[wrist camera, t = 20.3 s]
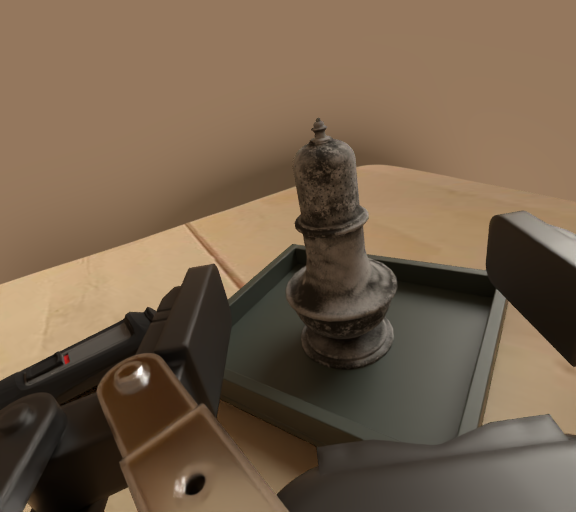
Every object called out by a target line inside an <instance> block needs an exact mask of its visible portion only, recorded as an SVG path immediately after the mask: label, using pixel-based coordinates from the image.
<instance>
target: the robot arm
mask: <svg viewBox="0 0 576 512" xmlns="http://www.w3.org/2000/svg"><path fill="white" fill-rule="evenodd" d="M486 271H487V275H488V278H489V280H490V282H491V283H492V285H493V286H494V287H495V288H496V289H497V290H498V291H499V292H500V293H501V294H502V295H503V296H504V297H505V298H506V299H507V300H508V301H509V302H510V303H511V304H512V305H513V306H514V307H515V308H516V309H517V310H518V311H519V312H520V313H521V314H522V315H523V316H524V317H525V318H526V319H527V320H528V321H529V322H530V323H531V324H532V325H533V326H534V327H535V328H536V329H537V330H538V332H539V333H540V334H541V335H542V336H543V337H544V338H545V339H546V340H547V341H548V342H549V343H550V344H551V345H552V346H553V347H554V348H555V349H556V350H557V351H558V352H559V353H560V354H561V355H562V356H563V357H564V358H565V359H566V360H567V361H568V362H569V363H570V364H571V365H572V366H573V367H575V366H576V234H574V233H572V232H570V231H568V230H566V229H562V228H559V227H556V226H552V225H549V224H547V223H545V222H543V221H542V220H540V219H538V218H537V217H535V216H533V215H532V214H530V213H528V212H526V211H517V212H511V213H506V214H500V215H495V216H493V217H492V219H491V221H490V225H489V234H488V245H487V256H486ZM231 328H232V316H231V310H230V306H229V303H228V299H227V296H226V293H225V290H224V287H223V284H222V280H221V277H220V274H219V271H218V268H217V266H216V265H215V264H210V265H204V266H198V267H193V268H189V269H188V271H187V273H186V276H185V278H184V281H183V283H182V285H181V286H178V287H174V288H173V289H172V290H171V291H170V292H169V293H168V294H167V295H166V296H165V297H164V298H162V301H161V303H160V305H159V307H158V309H157V313H155V315H154V317H153V319H152V323H150V326H149V328H148V330H147V332H146V334H145V336H144V338H143V340H142V342H141V344H140V346H139V348H138V350H137V353H136V355H135V356H132V357H129V358H127V359H125V360H123V361H121V362H120V363H118V364H117V365H115V366H114V367H113V368H112V369H110V370H109V371H108V372H107V373H106V374H105V376H104V377H103V378H102V380H101V381H100V383H99V385H98V388H97V392H95V393H93V394H90V395H88V396H85V397H83V398H80V399H78V400H75V401H72V402H70V403H67V404H65V405H62V406H60V405H59V404H58V402H57V401H56V400H55V398H54V397H53V396H52V395H51V394H49V393H44V392H40V393H34V394H30V395H27V396H25V397H22V398H20V399H18V400H16V401H14V402H12V403H10V404H9V405H7V406H6V407H4V408H3V409H1V410H0V512H23V510H24V508H25V506H26V504H27V503H28V504H29V505H30V506H31V507H32V509H31V511H30V512H104V509H105V506H106V503H107V500H108V497H109V496H110V495H112V494H115V493H117V492H119V491H121V490H123V489H125V488H127V487H129V490H130V492H131V495H132V498H133V500H134V503H135V505H136V508H137V510H138V512H576V435H571V434H564V433H563V432H562V430H561V429H560V428H559V426H558V425H557V424H556V423H555V421H554V420H553V419H552V417H551V416H550V415H549V414H546V415H539V416H532V417H524V418H517V419H510V420H503V421H496V422H490V423H488V424H485V425H483V426H481V427H478V428H476V429H474V430H472V431H469V432H467V433H465V434H462V435H460V436H458V437H455V438H453V439H451V440H448V441H446V442H444V443H441V444H438V445H426V444H416V443H406V442H395V441H385V440H375V439H370V440H363V441H356V442H349V443H342V444H335V445H328V446H321V447H317V456H318V465H319V466H317V467H315V468H313V469H310V470H308V471H307V472H305V473H303V474H302V475H300V476H298V477H297V478H295V479H294V480H293V481H291V482H290V483H289V484H288V485H286V486H285V487H284V488H283V489H282V490H281V491H280V492H279V493H278V494H277V495H276V494H275V493H274V492H273V490H272V489H271V488H270V487H269V485H268V484H267V483H266V481H265V480H264V479H263V478H262V476H261V475H260V474H259V473H258V471H257V470H256V469H255V467H254V466H253V465H252V464H251V462H250V461H249V460H248V459H247V457H246V456H245V455H244V453H243V452H242V451H241V450H240V448H239V447H238V446H237V444H236V443H235V442H234V441H233V439H232V438H231V437H230V436H229V434H228V433H227V432H226V430H225V429H224V428H223V427H222V425H221V424H220V423H219V422H218V420H217V419H216V418H217V412H218V406H219V400H220V394H221V388H222V382H223V376H224V370H225V364H226V358H227V352H228V346H229V340H230V334H231Z"/></svg>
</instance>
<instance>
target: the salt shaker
mask: <svg viewBox="0 0 576 512" xmlns="http://www.w3.org/2000/svg"><path fill="white" fill-rule="evenodd" d="M326 128H327V126H324V123H323V122H322V121H320V118H317V119H316V122H315V123H314V128H312V129H311V130H312V131H314V133H315V138H313V139H311V140H310V142H309V144H307V145H305V146H303V147H302V148H301V149H300V150H299V151H298V152H297V153H296V155H295V157H294V160H293V171H294V176H295V182H296V188H297V194H298V199H299V205H300V211H301V215H300V216H299V217H298V218H297V219H296V221H295V227H296V229H297V230H298V231H299V232H300V233H302V234H303V237H304V243H305V249H306V254H307V264H306V266H305V267H303V268H302V269H300V270H299V271H298V272H297V273H295V274H294V275H293V277H292V278H291V279H290V281H289V282H288V284H287V287H286V298H287V301H288V302H289V304H290V306H291V307H292V308H293V309H294V310H295V311H296V313H297V314H298V316H299V317H300V319H301V320H302V321H303V323H304V324H305V327H304V328H303V331H302V335H301V341H302V347H303V349H304V350H305V352H306V354H307V355H308V356H309V357H310V358H311V359H312V360H313V361H315V362H317V363H319V364H321V365H323V366H325V367H330V368H334V369H356V368H361V367H365V366H367V365H370V364H372V363H375V362H376V361H378V360H379V359H381V358H382V357H383V356H385V355H386V353H387V352H388V351H389V349H390V348H391V346H392V343H393V340H394V334H393V327H392V325H391V324H390V322H389V320H388V319H387V318H386V317H385V315H386V313H387V311H388V309H389V306H390V303H391V299H392V298H393V297H394V295H395V293H396V290H397V279H396V276H395V275H394V273H393V272H392V270H391V269H389V268H388V267H387V266H386V265H384V264H383V263H381V262H378V261H376V260H374V259H370V258H368V257H367V254H366V251H365V243H364V232H363V225H364V224H365V223H366V221H367V220H368V215H369V214H368V211H367V210H366V209H365V208H363V207H362V206H360V205H359V194H358V183H357V172H356V161H355V155H354V152H353V150H352V149H351V148H350V146H349V145H348V144H346V143H344V142H342V141H340V140H336V139H333V138H331V137H330V136H326V135H325V129H326Z"/></svg>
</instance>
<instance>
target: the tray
mask: <svg viewBox="0 0 576 512" xmlns="http://www.w3.org/2000/svg"><path fill="white" fill-rule="evenodd" d="M367 257H368V258H370V259H374V260H376V261H378V262H381V263H383V264H384V265H386V266H387V267H388V268H389V269H391V270H392V272H393V273H394V275H395V276H396V279H397V290H396V293H395V295H394V297H393V298H392V299H391V303H390V306H389V309H388V311H387V313H386V315H385V317H386V318H387V319H388V320H389V322H390V324H391V325H392V327H393V334H394V340H393V343H392V346H391V348H390V349H389V351H388V352H387V353H386V355H385V356H383V357H382V358H381V359H379V360H378V361H376V362H375V363H372V364H370V365H367V366H365V367H361V368H356V369H334V368H330V367H325V366H323V365H321V364H319V363H317V362H315V361H313V360H312V359H311V358H310V357H309V356H308V355H307V354H306V352H305V350H304V349H303V347H302V341H301V335H302V331H303V328H304V327H305V324H304V323H303V321H302V320H301V319H300V317H299V316H298V314H297V313H296V311H295V310H294V309H293V308H292V307H291V306H290V304H289V302H288V301H287V298H286V287H287V284H288V282H289V281H290V279H291V278H292V277H293V275H294V274H295V273H297V272H298V271H299V270H300V269H302V268H303V267H305V266H306V264H307V254H306V249H305V246H303V245H296V244H292V245H291V246H290V247H288V248H287V249H286V250H285V251H284V252H283V253H281V254H280V255H279V256H278V257H277V258H276V259H274V260H273V261H272V262H271V263H270V264H269V265H268V266H266V267H265V268H264V269H263V270H262V271H261V272H259V273H258V274H257V275H256V276H255V277H254V278H252V279H251V280H250V281H249V282H248V283H247V284H246V285H244V286H243V287H242V288H241V289H240V290H239V291H237V292H236V293H235V294H234V295H233V296H232V297H231V298H229V299H228V303H229V306H230V310H231V316H232V328H231V334H230V340H229V346H228V352H227V358H226V364H225V370H224V376H223V382H222V388H221V394H220V399H221V400H223V401H225V402H227V403H229V404H231V405H233V406H235V407H237V408H239V409H242V410H244V411H246V412H248V413H250V414H252V415H254V416H256V417H258V418H260V419H262V420H264V421H266V422H268V423H270V424H272V425H274V426H276V427H278V428H280V429H282V430H284V431H287V432H289V433H291V434H293V435H295V436H297V437H299V438H301V439H303V440H305V441H307V442H309V443H311V444H313V445H315V446H317V447H321V446H328V445H335V444H342V443H349V442H356V441H363V440H370V439H375V440H385V441H395V442H406V443H416V444H426V445H438V444H441V443H444V442H446V441H448V440H451V439H453V438H455V437H458V436H460V435H462V434H465V433H467V432H469V431H472V430H474V429H476V428H478V427H481V426H482V422H483V417H484V413H485V408H486V403H487V399H488V394H489V389H490V385H491V380H492V375H493V370H494V366H495V361H496V356H497V352H498V347H499V342H500V338H501V333H502V328H503V323H504V319H505V314H506V309H507V305H508V300H507V299H506V298H505V297H504V296H503V295H502V294H501V293H500V292H499V291H498V290H497V289H496V288H495V287H494V286H493V285H492V283H491V282H490V280H489V278H488V275H487V271H486V270H479V269H472V268H464V267H457V266H450V265H442V264H435V263H428V262H420V261H413V260H406V259H398V258H391V257H383V256H376V255H369V254H367Z"/></svg>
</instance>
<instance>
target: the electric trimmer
mask: <svg viewBox="0 0 576 512" xmlns="http://www.w3.org/2000/svg"><path fill="white" fill-rule="evenodd" d="M155 313H157V311H155V310H154V309H152V308H150V307H147V308H146V310H145V312H129V313H127V314H126V315H125V318H124V319H123V320H121V321H119V322H118V323H116V324H114V325H112V326H110V327H108V328H106V329H104V330H102V331H100V332H98V333H96V334H94V335H92V336H90V337H88V338H86V339H84V340H82V341H80V342H78V343H76V344H74V345H72V346H70V347H68V348H66V349H64V350H62V351H60V352H59V351H58V352H56V353H55V354H54V355H52V356H50V357H48V358H46V359H44V360H42V361H40V362H38V363H36V364H34V365H32V366H30V367H28V368H26V369H24V370H22V371H20V372H16V373H14V374H12V375H11V376H9V377H7V378H5V379H3V380H1V381H0V410H1V409H3V408H4V407H6V406H7V405H9V404H10V403H12V402H14V401H16V400H18V399H20V398H22V397H25V396H27V395H30V394H34V393H40V392H44V393H49V394H51V395H52V396H53V397H54V398H55V400H56V401H57V402H58V404H59V405H61V404H63V403H64V402H66V401H68V400H70V399H72V398H74V397H76V396H78V395H79V394H81V393H83V392H85V391H87V390H89V389H91V388H93V387H94V386H96V385H98V384H99V383H100V381H101V380H102V378H103V377H104V376H105V374H106V373H107V372H108V371H109V370H110V369H112V368H113V367H114V366H115V365H117V364H118V363H120V362H121V361H123V360H125V359H127V358H129V357H132V356H135V355H136V353H137V350H138V348H139V346H140V344H141V342H142V340H143V338H144V336H145V334H146V332H147V330H148V328H149V326H150V323H152V319H153V317H154V315H155Z"/></svg>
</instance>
